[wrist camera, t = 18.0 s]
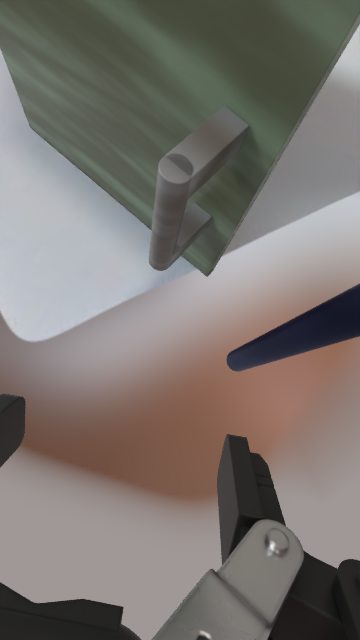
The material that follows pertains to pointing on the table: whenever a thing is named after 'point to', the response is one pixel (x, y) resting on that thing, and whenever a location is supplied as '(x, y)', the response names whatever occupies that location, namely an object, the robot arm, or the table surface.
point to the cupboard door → (174, 100)
